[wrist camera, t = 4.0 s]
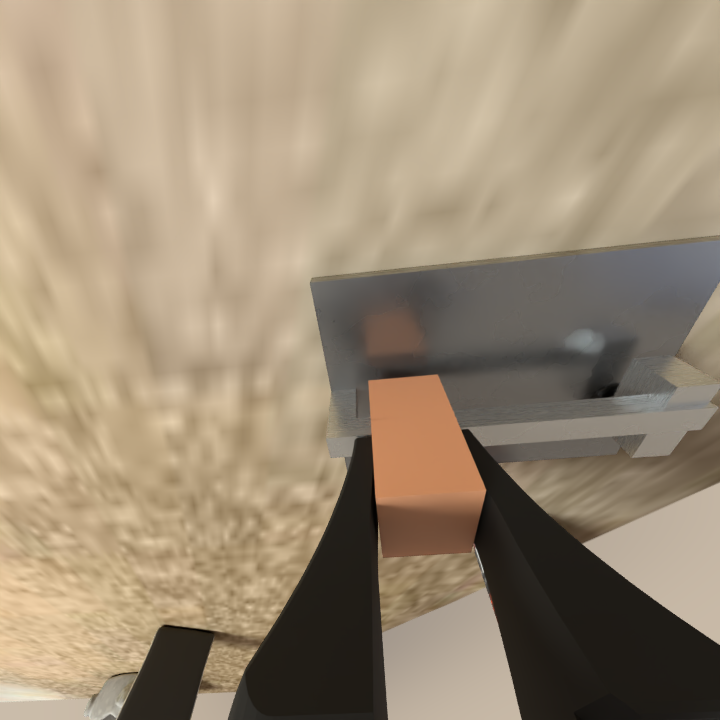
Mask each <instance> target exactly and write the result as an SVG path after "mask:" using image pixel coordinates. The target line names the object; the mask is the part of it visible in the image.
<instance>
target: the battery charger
mask: <svg viewBox="0 0 720 720" xmlns="http://www.w3.org/2000/svg"><path fill="white" fill-rule="evenodd" d="M214 637H215V636H214V634H211V633H207V632H202V631H196V630H190V629H181V628H170V627H161V628H159V629H157V631H156V633H155V636H154V638H153V641H152V643H151V646H150V648H149V650H148V653H147V655H146V657H145V659H144V662H143V664H142V666H141V668H140V670H139V672H138V674H137V676H136V678H135V680H134V682H133V685H132V687H131V689H130V691H129V693H128V695H127V697H126V699H125V701H124V703H123V706H122V708H121V710H120V712H119V714H118V716H117V719H116V720H191V717H192V713H193V709H194V706H195V702H196V699H197V695H198V692H199V688H200V684H201V680H202V676H203V673H204V669H205V666H206V663H207V659H208V656H209V653H210V650H211V647H212V644H213V641H214Z"/></svg>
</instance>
